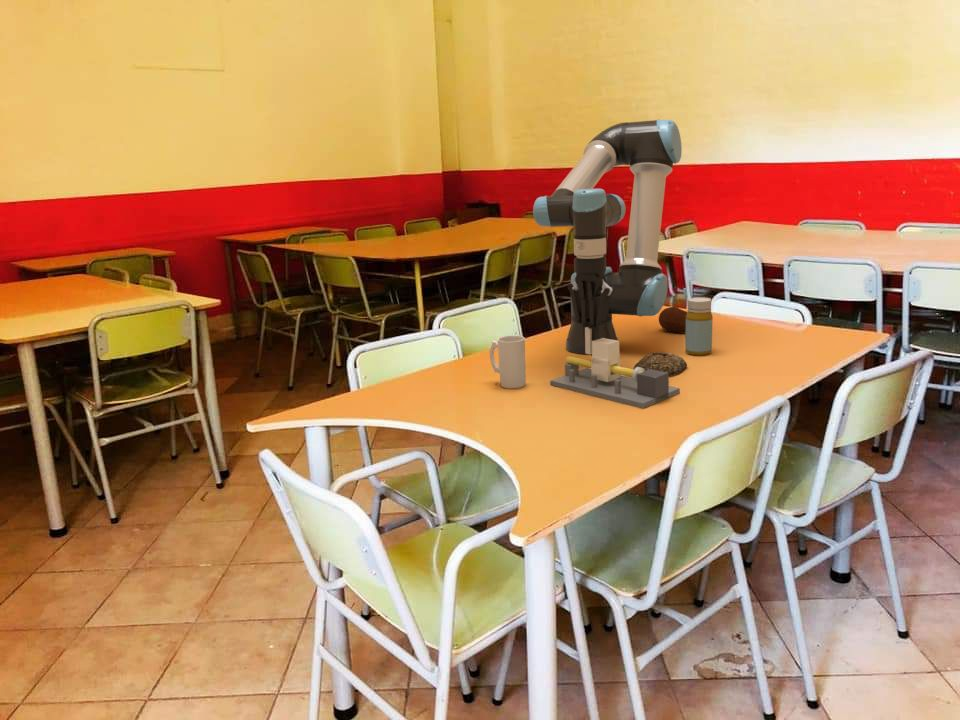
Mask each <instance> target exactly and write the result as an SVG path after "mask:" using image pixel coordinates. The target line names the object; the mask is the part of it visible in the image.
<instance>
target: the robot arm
mask: <svg viewBox="0 0 960 720" xmlns="http://www.w3.org/2000/svg"><path fill="white" fill-rule="evenodd" d="M682 150H683V149H682V137H681V133H680V130H679V127H678V125H677V123H676V122H675V121H674V120H672V119H655V120H654V119H653V120H641V121H631V122H630V121H629V122H627V121H626V122H619V123H616V124H613V125H611V126H609V127H607V128H605V129H604V130H603V131H601V132H600V133H598V134H597V135H596V136H594V137H593V138H592V139H591V140H590V141H589V142H588V143H587V145H586V146H585V148H584V149H583V152H582V153H583V155H582V157H581V158H580V159H579V160H578V162H577V163H576V164H575V165H574V167H573V168H572V169H571V170H570V171H569V173H568V174H567V175H566V177H565V178H564V179H563V180H562V181H561V183H560V184H559V185H558V186H557V188H556V189H555V190H554V191H553V193H552V194H551V195H550V196H549V195H544V196H539V197H537V198H536V200H535V201H534V204H533V208H532V215H533V219H534V222H535V223H536V224H537V225H538V226H540V227H549V228H553V227H554V228H555V227H558V228H559V227H573V255H574V256H576V257H574V259H573V269H574V270H573V271H574V272H573V273H572V274H571V277H570V283H567V289H568V292H569V293H570V310H571V311H570V313H571V318H570V319H571V322H570V326H569V330H568V333H567V338H566V340H565V345H566V346H565V348H566V350H567V351H568V352H570V353H574V354H581V355H582V354H583V355H592V341H594V340H598V339H601V338H606V339H612V340H617V341H619V339H618V337H617V332H616V330H615V325H614V323H613V315H621V316H623V315H624V316H625V315H626V316H635V317H653V316H656V315H658V314H660V313H659V312H661V310H662V309H663V306H664V304H665V302H666V299H667V298H666V297H667V296H668V295H667V294H668V288H669V287H668V278H667V275H666V274H664V273H663V268H662V267H661V265H660V264H659V263H658V259H659V258H658V257H659V256H658V255H659V249H660V248H659V247H660V239H661V238H660V235H661V228H662V227H661V226H662V217H663V208H664V198H665V191H666V190H665V189H666V180H667V179H666V178H667V177H668V176H669V175H670V174H671V173H672V172H673V169H674V167H673V165H674V164H675V165H676V164H678V163H679V162H680V161H681V158H682V154H683V153H682V152H683V151H682ZM619 166H629V170H630V172H632V174H633V175H634V177H633V185H632V186H633V187H632V194H631V195H632V196H631V206H630V207H631V208H630V215H629V225H628V234H627V244H626V255H625V260H624V261H623V262H622V263H620V264H619V268H618V272H613V269H612V267H611V266H607V258H606V256H605V255H606V254H607V227H612V226H614V225H617V224H618V223H620V222H621V221H622V220H623V219H624V217H625V214H626V204H625V202H624V200H623V198H621V197H620V196H619V195H617V194H613V193H606V191H605V190H604V189H602V188H595V186H596V185H597V184H598V183H599V181H600V180H601V178H602V177H603V176H604V174H605V173H608V172H610V171H612V170H613V168H615V167H619Z"/></svg>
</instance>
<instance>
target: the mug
mask: <svg viewBox="0 0 960 720" xmlns="http://www.w3.org/2000/svg"><path fill="white" fill-rule="evenodd" d="M525 342H526V338H525V337H524V336H522V335H505V336H500V337H498V338H497V339H496V340H492V341H491V345H490V349H489V360H490V363H491V366H492V369H493V372H494V373H499V381H500V386H501V387H502V388H503V389H510V390H511V389H512V390H513V389H520V388H523V387H525V386H526V383H527V382H526V379H527V378H526V343H525ZM496 348H497V354H498V355H497V356H498V364H497V362H496V360H495V359H496V358H495V354H494V353H495V350H496Z"/></svg>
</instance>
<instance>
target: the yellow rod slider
mask: <svg viewBox="0 0 960 720" xmlns="http://www.w3.org/2000/svg"><path fill="white" fill-rule="evenodd" d="M565 360H566V361H565V362H566V363H565V364H564V375H562V376H559V377H557V378H553V379H551V380H550V381H549V382H550V383H549V384H550V386H552V387H556V388H560V389H564V390H569V391H573V392H575V393H580V394H583V395H588V396H592V397H595V398H600V399H603V400H608V401H612V402H617V403H620V404H624V405H628V406H632V407H637V408H640V409H643V410H644V409H645V408H647V407H650V406H652V405H655V404H658V403H660V402H662V401H664V400H667V399H670V398H671V397H674V396H676V395H679V394H680V393H681V392H680V391H681V389H680V387H675V386H671V385H669V382H670V379H669V377H670V376H669V373H667V372H662V371H657V370H652V369H649V370H647V371H644V369H643V368H641V367H636V368H635V369H634V368H629V367H624V366H623V367H622V366H620V367H619V366H614V365H610V372H611V373H615V374H620V375H621V377H620V378H618V379H615V380H612V381H610V382H605V381H601V380H597V375H595V374H593V375H592V373H591V359H585V358H580V357H575V356H570V355H568V356H567V357H566V359H565ZM580 367H584V368H582V369H579V368H580Z"/></svg>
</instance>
